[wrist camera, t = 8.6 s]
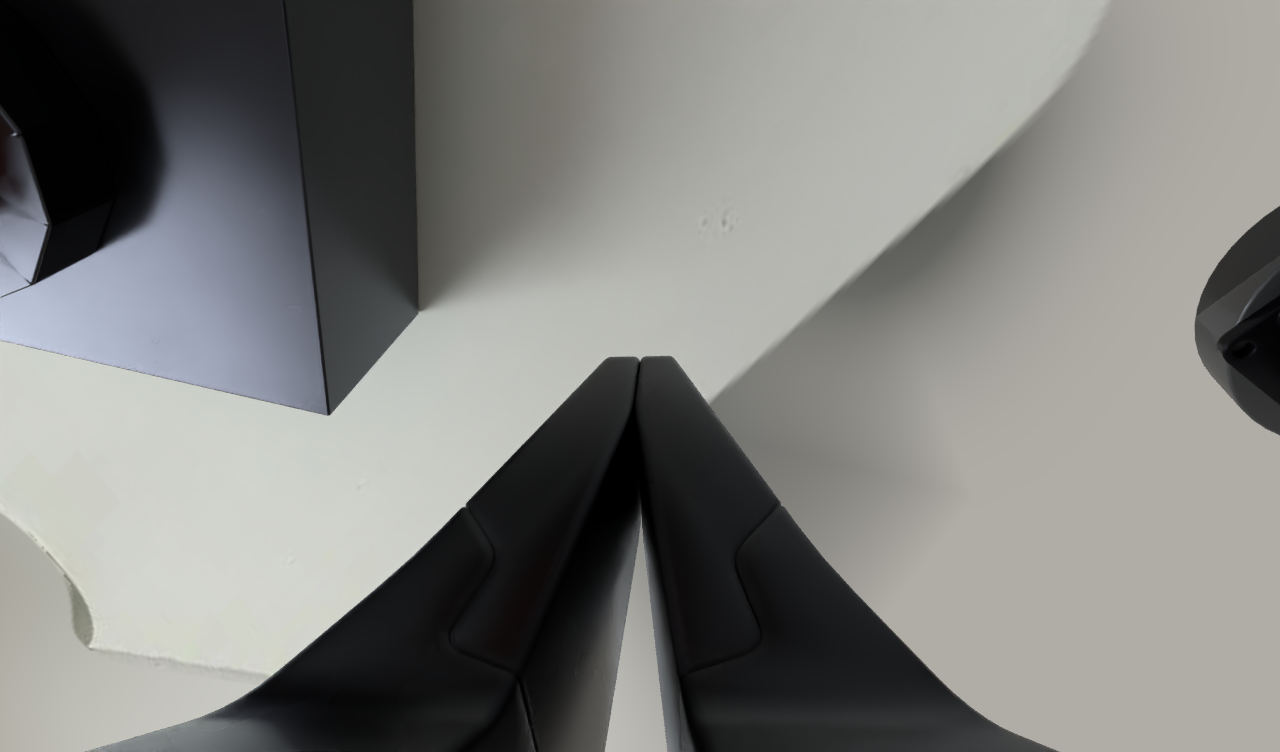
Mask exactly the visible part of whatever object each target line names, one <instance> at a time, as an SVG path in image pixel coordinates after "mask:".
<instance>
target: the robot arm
mask: <svg viewBox="0 0 1280 752" xmlns="http://www.w3.org/2000/svg"><path fill="white" fill-rule="evenodd" d="M1245 342H1247V344H1246V345H1245V346H1244V347H1243V348H1241V349H1239V350H1235V351H1234V348H1235V347H1236V346H1237V345H1239V344H1241V343H1245ZM1216 351H1217V352H1218V353H1219V355H1220V356H1221V357H1222V358H1223V359H1224V360H1225V361H1226V362H1227V363H1228V364H1229V365H1231V366H1232V367H1233V368H1234V369H1236V370H1237V371H1238V372H1239V373H1241V374H1242V375H1243V376H1244V377H1246V378H1247V379H1248V380H1249V381H1250V382H1252V383H1253V384H1254V385H1255V386H1257V387H1258V388H1259V389H1260V390H1262V391H1263V392H1264V393H1265V394H1267V395H1268V396H1269V397H1270V398H1271V399H1273V400H1274V401H1275V402H1276V403H1278V404H1279V405H1280V295H1279V296H1277V297H1276V298H1275V299H1273V300H1272V301H1270V302H1269V303H1267V304H1266V305H1264V306H1263V307H1262V308H1260V309H1259V310H1257V311H1256V312H1254V313H1253V314H1252V315H1250V316H1249V317H1247V318H1246V319H1244V320H1243V321H1242V322H1240V323H1239V324H1237V325H1236V326H1234V327H1233V328H1231V329H1230V330H1229V331H1227V332H1226V333H1224V334H1223V335H1222V336H1221V337H1220V338H1219V340H1218V342H1217V344H1216ZM641 515H642V529H643V542H644V550H645V559H646V568H647V576H648V585H649V593H650V603H651V611H652V620H653V629H654V638H655V647H656V655H657V664H658V673H659V682H660V691H661V698H662V708H663V717H664V726H665V733H666V734H665V735H666V743H667V752H1058V751H1056V750H1054V749H1051V748H1049V747H1046V746H1044V745H1042V744H1039V743H1036V742H1034V741H1032V740H1029V739H1027V738H1024V737H1022V736H1019V735H1017V734H1015V733H1012V732H1010V731H1008V730H1006V729H1004V728H1002V727H1000V726H998V725H997V724H995V723H993V722H991V721H990V720H988V719H987V718H985V717H984V716H982V715H981V714H980V713H978V712H977V711H975V710H974V709H973V708H971V707H970V706H969V705H967V704H966V703H965V702H964V701H963V700H961V699H960V698H959V697H958V696H957V695H955V694H954V693H953V692H952V691H951V690H950V689H949V688H948V687H947V686H946V685H945V684H944V683H943V682H942V681H941V680H940V679H939V678H938V677H937V676H935V674H934V673H933V672H932V671H931V670H930V669H929V668H928V667H927V666H926V665H925V664H924V663H923V662H922V661H921V660H920V659H919V658H918V657H917V656H916V655H915V654H914V653H913V652H912V650H910V648H909V647H907V645H906V644H905V643H904V642H903V641H902V640H901V639H900V638H899V637H898V636H897V635H896V634H895V633H894V632H893V631H892V630H891V629H890V628H889V627H888V626H887V625H886V624H885V623H884V622H883V621H882V620H881V619H880V617H879V616H878V615H876V613H875V612H873V610H872V609H871V608H870V607H869V606H868V605H867V604H866V603H865V602H864V601H863V600H862V599H861V598H860V597H859V596H858V595H857V594H856V593H855V592H854V591H853V590H852V588H851V587H850V586H849V585H848V584H847V583H846V582H845V581H844V580H843V579H842V578H841V577H840V575H839V574H838V573H837V572H836V571H835V570H834V569H833V568H832V567H831V566H830V565H829V563H828V562H827V561H826V560H825V559H824V558H823V557H822V555H821V554H820V553H819V552H818V550H817V549H816V548H815V547H814V545H813V544H812V543H811V542H810V540H809V539H808V538H807V537H806V535H805V534H804V533H803V532H802V531H801V529H800V528H799V526H798V525H797V524H796V522H795V521H794V520H793V518H792V517H791V515H790V514H789V513H788V512H787V510H786V509H785V507H783V506H781V503H780V501H779V500H778V498H777V497H776V496H775V494H774V493H773V491H772V490H771V489H770V488H769V486H768V485H767V483H766V482H765V481H764V479H763V478H762V477H761V475H760V474H759V472H758V471H757V470H756V468H755V467H754V466H753V464H752V463H751V462H750V460H749V459H748V458H747V456H746V455H745V454H744V452H743V451H742V449H741V448H740V447H739V445H738V444H737V443H736V441H735V440H734V439H733V437H732V436H731V435H730V433H729V432H728V430H727V429H726V428H725V426H724V425H723V424H722V422H721V421H720V420H719V418H718V417H717V416H716V414H715V413H714V411H713V410H712V409H711V408H710V406H709V405H708V403H707V402H706V401H705V399H704V398H703V397H702V395H701V394H700V392H699V391H698V390H697V388H696V387H695V386H694V384H693V383H692V382H691V380H690V379H689V378H688V376H687V375H686V373H685V372H684V371H683V369H682V368H681V367H680V365H679V364H678V363H677V361H676V360H675V359H674V358H673V357H671V356H646V357H643V358H642V359H641V361H640V360H639V359H638V358H637V357H609V358H607V359H605V360H604V361H603V362H602V363H601V364H600V365H599V366H598V367H597V369H596V370H595V371H594V372H593V373H592V374H591V375H590V376H589V377H588V378H587V379H586V380H585V381H584V382H583V383H582V384H581V385H580V386H579V387H578V388H577V389H576V390H575V391H574V392H573V393H572V394H571V395H570V396H569V397H568V399H567V400H566V401H565V402H564V403H563V404H562V405H561V406H560V407H559V408H558V409H557V410H556V411H555V412H554V413H553V414H552V415H551V416H550V417H549V418H548V419H547V420H546V421H545V422H544V423H543V424H542V425H541V426H540V427H539V428H538V430H537V431H536V432H535V433H534V434H533V435H532V436H531V437H530V438H529V439H528V440H527V441H526V442H525V443H524V444H523V445H522V446H521V447H520V448H519V449H518V450H517V451H516V452H515V453H514V454H513V455H512V456H511V457H510V458H509V460H508V461H507V462H506V463H505V464H504V465H503V466H502V467H501V468H500V469H499V470H498V471H497V472H496V473H495V474H494V475H493V476H492V477H491V478H490V479H489V480H488V481H487V482H486V483H485V484H484V485H483V486H482V487H481V488H480V489H479V491H478V492H477V493H476V494H475V495H474V496H473V497H472V498H471V499H470V500H469V501H468V502H467V503H466V507H462V508H461V509H460V510H459V511H458V512H457V513H456V514H455V515H454V516H453V517H452V518H451V519H450V520H449V521H448V522H447V523H446V524H445V525H444V526H443V527H442V528H441V529H440V530H439V531H438V532H437V533H436V534H435V535H434V536H433V537H432V538H431V539H430V540H429V541H428V542H427V543H426V544H425V545H424V546H423V547H422V548H421V549H420V550H419V551H418V552H417V553H416V554H415V555H414V556H413V557H412V558H410V559H409V560H408V561H407V562H406V563H405V564H404V565H402V566H401V567H400V568H399V569H398V570H397V571H396V572H394V573H393V574H392V575H391V576H390V577H389V578H388V579H387V580H385V581H384V582H383V583H382V584H381V585H380V586H379V587H377V588H376V589H375V590H374V591H373V592H372V593H370V594H369V595H368V596H367V597H366V598H364V599H363V600H362V601H361V602H360V603H359V604H357V605H356V606H355V607H354V608H353V609H351V610H350V611H349V612H348V613H347V614H345V615H344V616H343V617H342V618H341V619H339V620H338V621H337V622H336V623H335V624H333V625H332V626H331V627H330V628H329V629H328V630H326V631H325V632H324V633H323V634H322V635H320V636H319V637H318V638H317V639H316V640H314V641H313V642H312V643H311V644H310V645H308V646H307V647H306V648H305V649H304V650H302V651H301V652H300V653H299V654H298V655H297V656H295V657H294V658H293V659H292V660H291V661H289V662H288V663H287V664H286V665H285V666H283V667H282V668H281V669H280V670H279V671H277V672H276V673H275V674H274V675H272V676H271V677H270V678H268V679H267V680H266V681H265V682H263V683H262V684H261V685H259V686H258V687H256V688H255V689H253V690H252V691H250V692H249V693H247V694H246V695H244V696H243V697H241V698H240V699H238V700H236V701H234V702H233V703H230V704H229V705H227V706H225V707H223V708H221V709H219V710H217V711H214V712H212V713H209V714H207V715H205V716H202V717H200V718H197V719H194V720H191V721H188V722H185V723H181V724H178V725H175V726H171V727H168V728H165V729H161V730H158V731H154V732H151V733H147V734H144V735H141V736H137V737H134V738H131V739H127V740H123V741H120V742H117V743H114V744H110V745H107V746H103V747H100V748H96V749H93V750H90V751H86V752H605V746H606V740H607V733H608V727H609V720H610V715H611V708H612V702H613V696H614V690H615V683H616V677H617V671H618V665H619V658H620V653H621V646H622V640H623V634H624V627H625V622H626V615H627V609H628V602H629V597H630V590H631V584H632V578H633V572H634V566H635V559H636V553H637V546H638V540H639V532H640V524H641Z"/></svg>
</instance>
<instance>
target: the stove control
mask: <svg viewBox="0 0 1280 752" xmlns="http://www.w3.org/2000/svg"><path fill="white" fill-rule="evenodd" d="M417 315H418V275H417V224H416V173H415V122H414V71H413V19H412V0H0V340H1V341H5V342H9V343H14V344H18V345H22V346H27V347H31V348H36V349H40V350H44V351H49V352H53V353H57V354H62V355H66V356H70V357H75V358H79V359H84V360H88V361H92V362H97V363H101V364H105V365H110V366H114V367H118V368H123V369H127V370H131V371H136V372H140V373H145V374H149V375H153V376H158V377H162V378H166V379H171V380H175V381H179V382H184V383H188V384H192V385H197V386H201V387H206V388H210V389H214V390H219V391H223V392H227V393H232V394H236V395H240V396H245V397H249V398H254V399H258V400H262V401H267V402H271V403H275V404H280V405H284V406H288V407H293V408H297V409H301V410H306V411H310V412H315V413H319V414H323V415H331V414H332V412H333V411H334V410H335V409H336V408H337V407H338V405H339V404H340V403H341V402H342V401H343V400H344V399H345V397H346V396H347V395H348V394H349V393H350V392H351V391H352V389H353V388H354V387H355V386H356V385H357V384H358V382H359V381H360V380H361V379H362V378H363V377H364V376H365V374H366V373H367V372H368V371H369V370H370V369H371V367H372V366H373V365H374V364H375V363H376V362H377V361H378V359H379V358H380V357H381V356H382V355H383V354H384V353H385V351H386V350H387V349H388V348H389V347H390V346H391V344H392V343H393V342H394V341H395V340H396V339H397V338H398V336H399V335H400V334H401V333H402V332H403V331H404V330H405V328H406V327H407V326H408V325H409V324H410V323H411V321H412V320H413V319H414V318H415V317H416V316H417Z"/></svg>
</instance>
